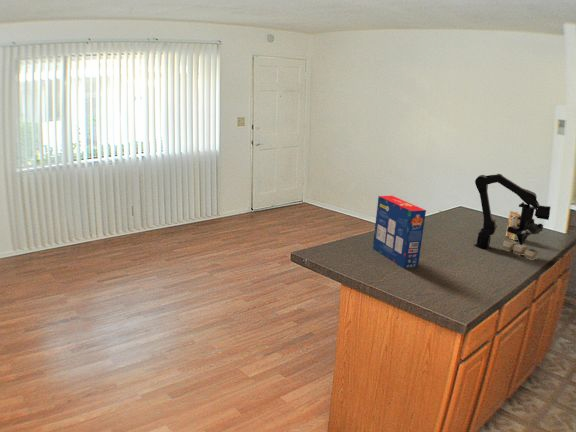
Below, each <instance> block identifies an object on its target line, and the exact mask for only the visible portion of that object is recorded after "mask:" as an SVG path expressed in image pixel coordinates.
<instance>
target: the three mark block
mask: <svg viewBox="0 0 576 432" xmlns="http://www.w3.org/2000/svg"><path fill="white" fill-rule="evenodd" d="M539 253H540V251H539V250H537V249H533V248H527V249H526V250H525V255H523V257H524V256H526V257H528V258H531V259H533V258H539Z"/></svg>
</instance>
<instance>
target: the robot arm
mask: <svg viewBox="0 0 576 432" xmlns="http://www.w3.org/2000/svg"><path fill="white" fill-rule="evenodd" d="M474 183H475V186H476V189H477V191H478V194H479V198H480V205H481V210H482V216H483V224H482V226H483V227H482V228H481V229H480V230H479V232H478V233H477V234H478V235H477V238H476V239H477V240H476V243H474V244H473V246H475V247H478V248H479V249H481V250H487V249H491V248H492V247H491V246H490V243H491V236H492V235H494V234H495V231H496V229H497V227H498V225H497V218H495V219H493V216H492V212H491V211H492V210H491V204H490V199H489V193H488V192H489V191H488V187H489V185H491V184H496V183H498V184H500V185H501V186H503V187H504V188H506V189H507V190H508V191H510V192H512V193H514V194H515V195H517V196H518V197H519V198H520V199H521V200H522V201H523V202H521V203H519V204H518V208H521V213H520V214H521V217H518V219H520V222H519V224H517V227H515V226H510V227H508V229H507V228H506V231H507V232H510V233H513V234H516V235H517V237H518V241H517V242H518V243H519V244H518V245H523V246H524V243H525V241H526V240H527V238H528V237H529V236H530V235H537V234H538V235H539V234H540V233H541V232H542V231H543V229H544V225H543V224H542V223H535V219H534V216H535V217H536V219H541V220H547V221H548V220H549V219H550V215H551V209H552V208H551V206H549V205H540V203H539V201H538V200H537V199H538V198H537V197H538V196H537V194H536V193H535V192H534V191H532V190H529V189H525V188H523V187H521V186H519V184H516V183H514V182H513V181H512V180H510V179H509V178H507V177H505V176H503V174H501V173H496V174H490V175H485V174H480V175H478V176H477V177H476V178H475V180H474ZM518 227H519V228H518Z"/></svg>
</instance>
